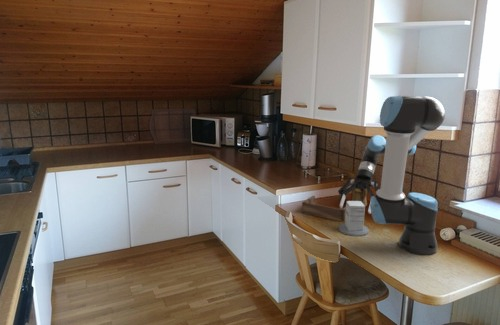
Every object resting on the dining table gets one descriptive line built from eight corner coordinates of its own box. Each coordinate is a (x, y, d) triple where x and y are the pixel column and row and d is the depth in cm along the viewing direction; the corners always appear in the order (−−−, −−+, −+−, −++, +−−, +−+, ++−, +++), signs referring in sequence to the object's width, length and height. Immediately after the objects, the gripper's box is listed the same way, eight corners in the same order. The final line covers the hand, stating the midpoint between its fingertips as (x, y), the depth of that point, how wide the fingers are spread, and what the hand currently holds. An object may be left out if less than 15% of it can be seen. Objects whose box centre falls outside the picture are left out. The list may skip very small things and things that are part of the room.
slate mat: (370, 227, 183) (370, 225, 183) (367, 238, 171) (367, 236, 170) (341, 222, 188) (341, 221, 188) (336, 233, 176) (336, 231, 176)
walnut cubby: (312, 205, 214) (312, 195, 212) (351, 213, 202) (352, 203, 200) (301, 212, 202) (302, 202, 201) (343, 221, 190) (344, 210, 189)
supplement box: (344, 225, 183) (346, 200, 180) (359, 225, 183) (361, 200, 180) (347, 231, 176) (349, 205, 173) (363, 231, 176) (365, 205, 173)
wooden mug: (359, 210, 207) (361, 178, 203) (348, 202, 220) (349, 172, 216) (373, 209, 209) (376, 178, 205) (361, 201, 222) (364, 172, 218)
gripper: (392, 180, 183) (382, 218, 174) (342, 173, 196) (331, 208, 187) (391, 171, 178) (380, 210, 169) (340, 165, 191) (327, 201, 181)
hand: (354, 209), depth 178 cm, fingers open, 13 cm apart
